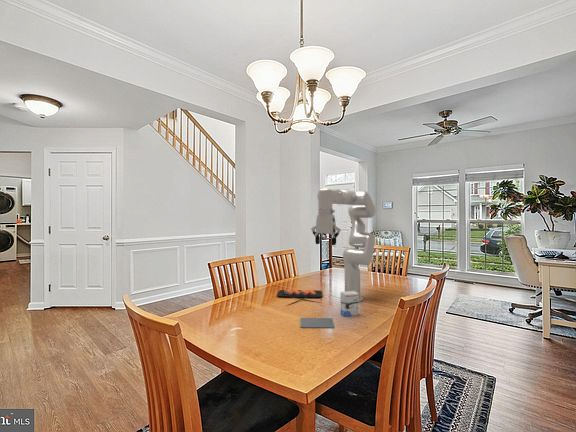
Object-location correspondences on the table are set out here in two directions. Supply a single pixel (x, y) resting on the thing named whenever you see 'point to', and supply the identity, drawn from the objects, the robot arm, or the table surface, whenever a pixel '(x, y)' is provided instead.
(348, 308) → the ink box
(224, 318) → the table surface
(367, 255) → the robot arm
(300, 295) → the sushi plate
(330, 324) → the mat
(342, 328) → the table surface
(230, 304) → the table surface
